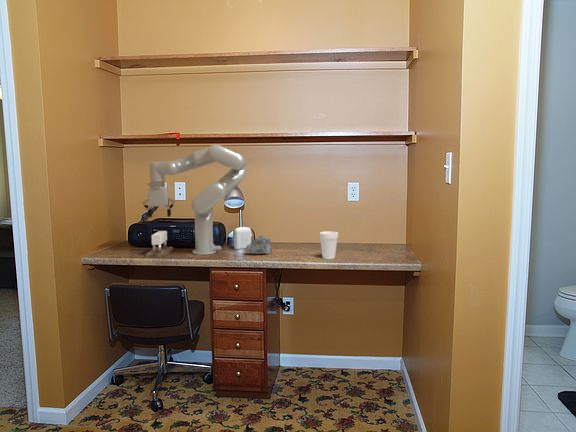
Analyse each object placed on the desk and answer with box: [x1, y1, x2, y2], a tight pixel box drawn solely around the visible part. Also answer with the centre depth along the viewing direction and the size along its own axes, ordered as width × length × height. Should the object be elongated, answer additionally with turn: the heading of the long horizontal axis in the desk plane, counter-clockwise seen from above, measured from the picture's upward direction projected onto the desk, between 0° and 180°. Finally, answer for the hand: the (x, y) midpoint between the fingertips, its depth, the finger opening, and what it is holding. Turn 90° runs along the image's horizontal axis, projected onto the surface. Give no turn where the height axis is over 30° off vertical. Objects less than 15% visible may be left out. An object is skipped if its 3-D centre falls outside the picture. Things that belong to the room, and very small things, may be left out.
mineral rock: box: [245, 235, 272, 255], centre depth 240 cm, size 13×11×10 cm
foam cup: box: [319, 230, 339, 260], centre depth 230 cm, size 10×9×13 cm
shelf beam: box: [151, 230, 168, 246], centre depth 242 cm, size 15×4×5 cm, turn 1°
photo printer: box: [233, 226, 252, 250], centre depth 255 cm, size 10×4×12 cm, turn 123°
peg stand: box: [145, 240, 174, 258], centre depth 242 cm, size 10×20×6 cm, turn 2°
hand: (159, 216), depth 240 cm, fingers open, 9 cm apart
